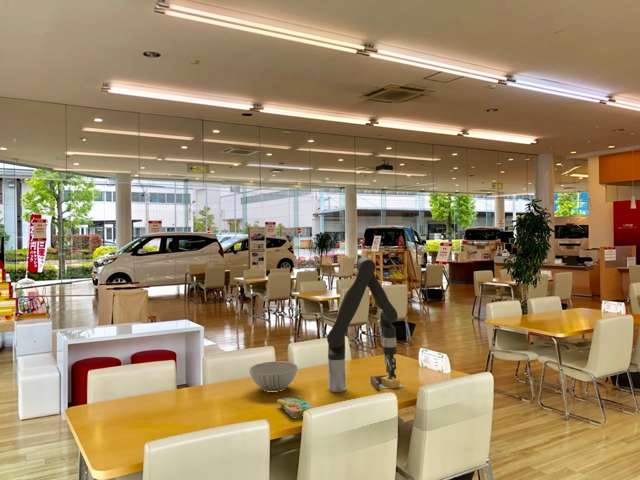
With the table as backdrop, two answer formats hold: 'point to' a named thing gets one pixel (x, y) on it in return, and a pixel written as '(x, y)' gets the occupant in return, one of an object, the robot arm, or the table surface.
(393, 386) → the rubber stamp
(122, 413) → the table surface
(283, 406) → the puzzle game
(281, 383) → the decorative bowl
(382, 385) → the resting mat
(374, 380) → the corner fence
